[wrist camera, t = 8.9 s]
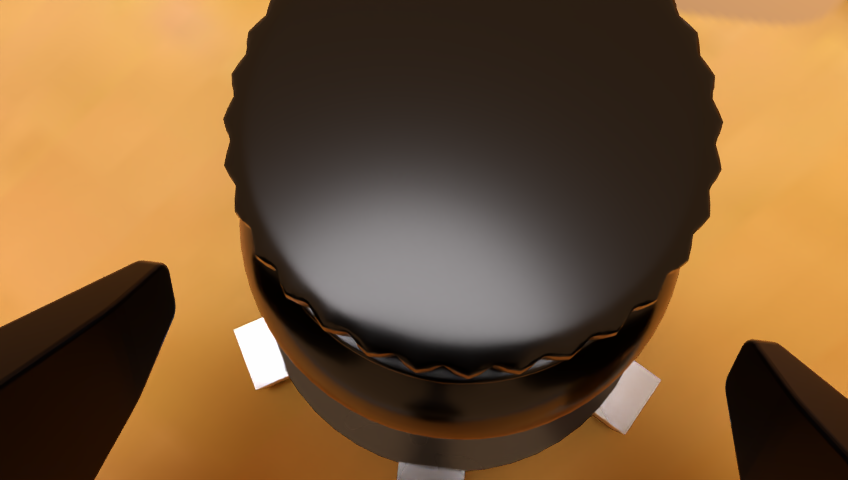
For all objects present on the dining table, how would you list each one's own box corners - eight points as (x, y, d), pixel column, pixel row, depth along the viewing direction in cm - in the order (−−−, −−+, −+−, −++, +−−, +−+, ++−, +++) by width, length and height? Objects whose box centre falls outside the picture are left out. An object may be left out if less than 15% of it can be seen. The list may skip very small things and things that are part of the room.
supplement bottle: (580, 174, 18) (841, -167, 6) (563, 414, 17) (844, 554, 5) (349, 150, 18) (184, -214, 7) (316, 384, 17) (39, 448, 5)
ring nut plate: (739, 240, 19) (758, 233, 18) (511, 581, 17) (516, 598, 16) (402, 15, 20) (400, -5, 19) (167, 308, 19) (149, 304, 18)
